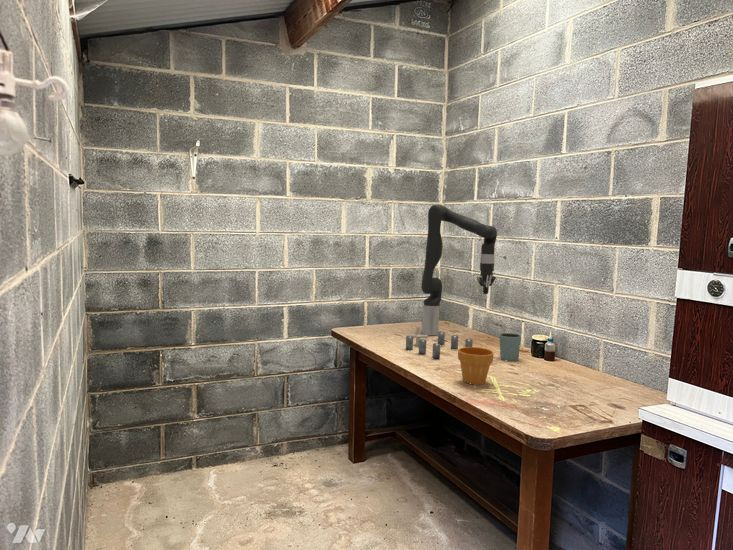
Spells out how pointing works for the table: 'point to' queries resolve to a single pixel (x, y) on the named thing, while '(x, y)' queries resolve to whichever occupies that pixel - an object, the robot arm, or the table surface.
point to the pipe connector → (418, 336)
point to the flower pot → (475, 364)
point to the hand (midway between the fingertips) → (485, 293)
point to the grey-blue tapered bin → (509, 346)
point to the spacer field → (436, 344)
